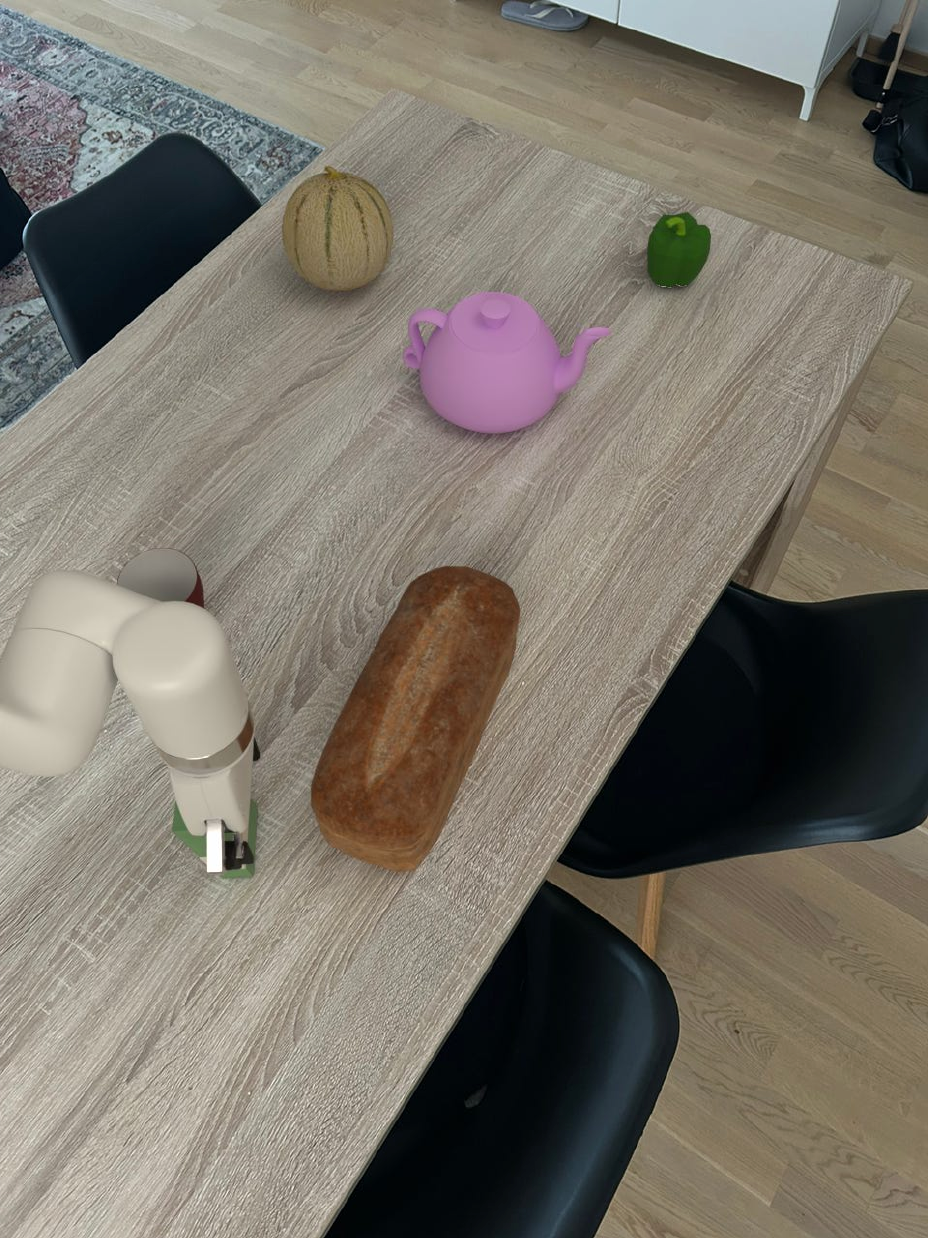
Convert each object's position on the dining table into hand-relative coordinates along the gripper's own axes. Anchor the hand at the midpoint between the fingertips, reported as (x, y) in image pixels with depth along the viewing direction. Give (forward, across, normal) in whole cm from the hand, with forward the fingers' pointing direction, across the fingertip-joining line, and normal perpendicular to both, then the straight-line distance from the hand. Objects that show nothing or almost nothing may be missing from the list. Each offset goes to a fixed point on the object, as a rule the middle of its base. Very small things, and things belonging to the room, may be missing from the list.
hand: (239, 808), depth 92 cm
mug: (+9, -24, -11) cm, 28 cm away
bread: (+9, -11, +16) cm, 22 cm away
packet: (+2, 0, -4) cm, 5 cm away
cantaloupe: (+9, -80, +7) cm, 81 cm away
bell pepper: (+9, -79, +52) cm, 95 cm away
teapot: (+9, -58, +27) cm, 65 cm away
